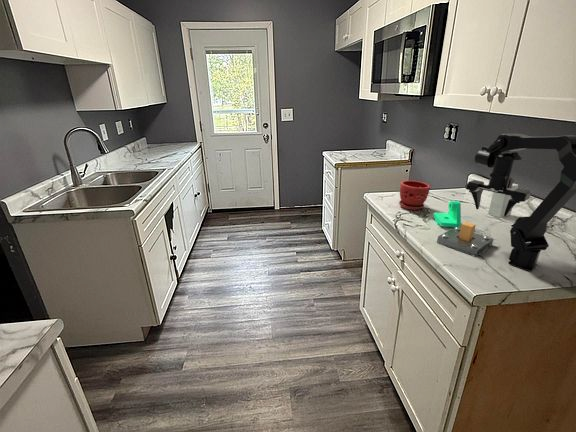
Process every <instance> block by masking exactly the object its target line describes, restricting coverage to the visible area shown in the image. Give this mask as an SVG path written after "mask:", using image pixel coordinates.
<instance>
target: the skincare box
mask: <svg viewBox="0 0 576 432" xmlns="http://www.w3.org/2000/svg"><path fill="white" fill-rule="evenodd" d="M507 189H508V190H513V191H514V190H516V189H519V184H516V183H513V185H512V187H511V188H507ZM493 190H495V189H493ZM499 191H501V190H499ZM510 199H512V198H511V196H510V195H505V194H500V193H496V192H492V195H491V199H490V203H489V207H488V211H487V214H488V215H489V216H490V215H491V216H493V217H496V218H498V219H501V218H504V213H505V210H506V207H507V204H508V201H509V200H510ZM512 211H513V208H512V209H511V210H510V212H509V213H508V214H507V216H506V217H508V216H511V214H512Z"/></svg>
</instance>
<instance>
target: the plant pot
mask: <svg viewBox="0 0 576 432" xmlns="http://www.w3.org/2000/svg"><path fill="white" fill-rule="evenodd" d="M430 190H431V185H429V184H428V183H425V182H422V181H418V180H417V181H416V180H404V181H401V182H400V187H399V197H400V200H399V201H398V204H399V206H400V207H401V208H403V209H406V210H410V211H411V210H412V211H418V210H421V209H423V208H424V207H425V205H424V203H426V200H427V199H428V196H429V193H430Z"/></svg>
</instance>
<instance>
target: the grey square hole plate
mask: <svg viewBox="0 0 576 432" xmlns="http://www.w3.org/2000/svg"><path fill="white" fill-rule="evenodd" d="M460 229H461V227H451V228H450V229H449V230H447V231H445V232H443V233H442V234H440V235H438V236H437V241H436V243H437V244H441V245H443V246H446V247H449V248H451V249H454V250H456V251H460V252H462V253H465V254H468V255H471V256H473V257H477V256H478V257H479V255H481V254H482V253H483V252H485V250H487V249H488V248H490V247H492V245H493V243H494V238H492V237H490V236H488V235H483V234H480V233H476V232H474V234H473V238H472V241H470V242H469V241H466V240H463V239H460V238H459V234H460Z"/></svg>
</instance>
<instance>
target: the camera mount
mask: <svg viewBox="0 0 576 432" xmlns="http://www.w3.org/2000/svg"><path fill="white" fill-rule="evenodd" d="M461 214H462V207H461V202H460V201H458V200H450V201H449V202H448V211H447V212H433V216H432V217H433V218H434V222H435V223H436V225H439V226H441V227H446V228H448V227H449V228H454V227H459V228H461V225H462V215H461Z"/></svg>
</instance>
